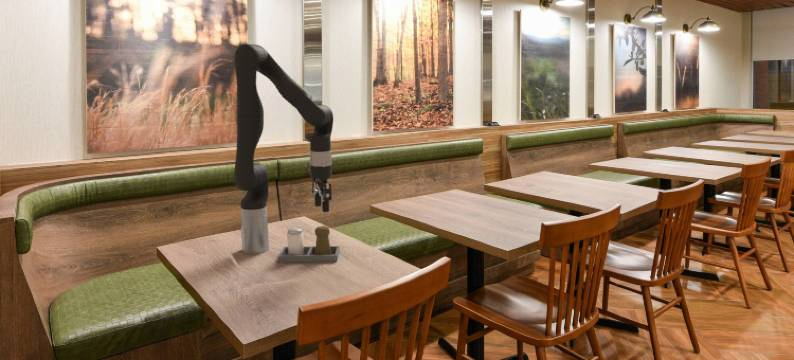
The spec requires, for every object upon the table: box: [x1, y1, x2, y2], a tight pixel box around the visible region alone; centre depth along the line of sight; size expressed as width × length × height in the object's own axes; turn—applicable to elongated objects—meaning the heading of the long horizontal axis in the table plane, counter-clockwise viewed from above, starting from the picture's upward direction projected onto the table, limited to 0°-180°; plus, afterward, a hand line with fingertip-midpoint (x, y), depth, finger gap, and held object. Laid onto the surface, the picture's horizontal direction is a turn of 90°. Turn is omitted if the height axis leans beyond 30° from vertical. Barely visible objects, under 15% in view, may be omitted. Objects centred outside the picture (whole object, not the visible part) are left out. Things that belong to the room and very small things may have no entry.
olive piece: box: [314, 225, 331, 255], centre depth 194 cm, size 6×6×11 cm
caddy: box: [277, 245, 341, 263], centre depth 195 cm, size 20×11×3 cm, turn 91°
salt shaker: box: [286, 227, 305, 255], centre depth 194 cm, size 6×6×10 cm
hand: (321, 208), depth 192 cm, fingers open, 8 cm apart
